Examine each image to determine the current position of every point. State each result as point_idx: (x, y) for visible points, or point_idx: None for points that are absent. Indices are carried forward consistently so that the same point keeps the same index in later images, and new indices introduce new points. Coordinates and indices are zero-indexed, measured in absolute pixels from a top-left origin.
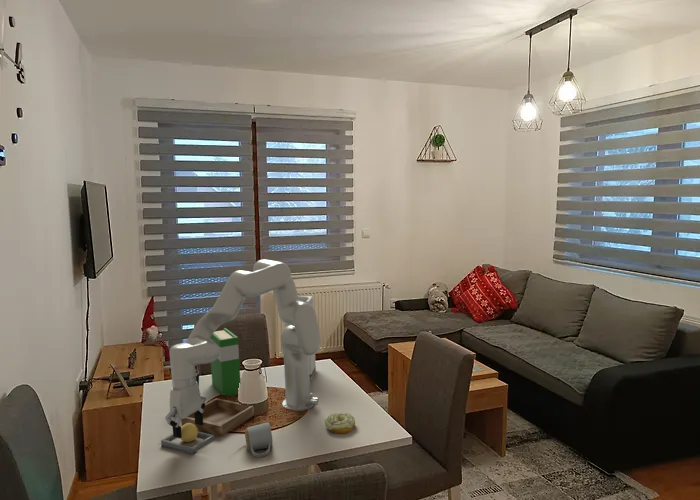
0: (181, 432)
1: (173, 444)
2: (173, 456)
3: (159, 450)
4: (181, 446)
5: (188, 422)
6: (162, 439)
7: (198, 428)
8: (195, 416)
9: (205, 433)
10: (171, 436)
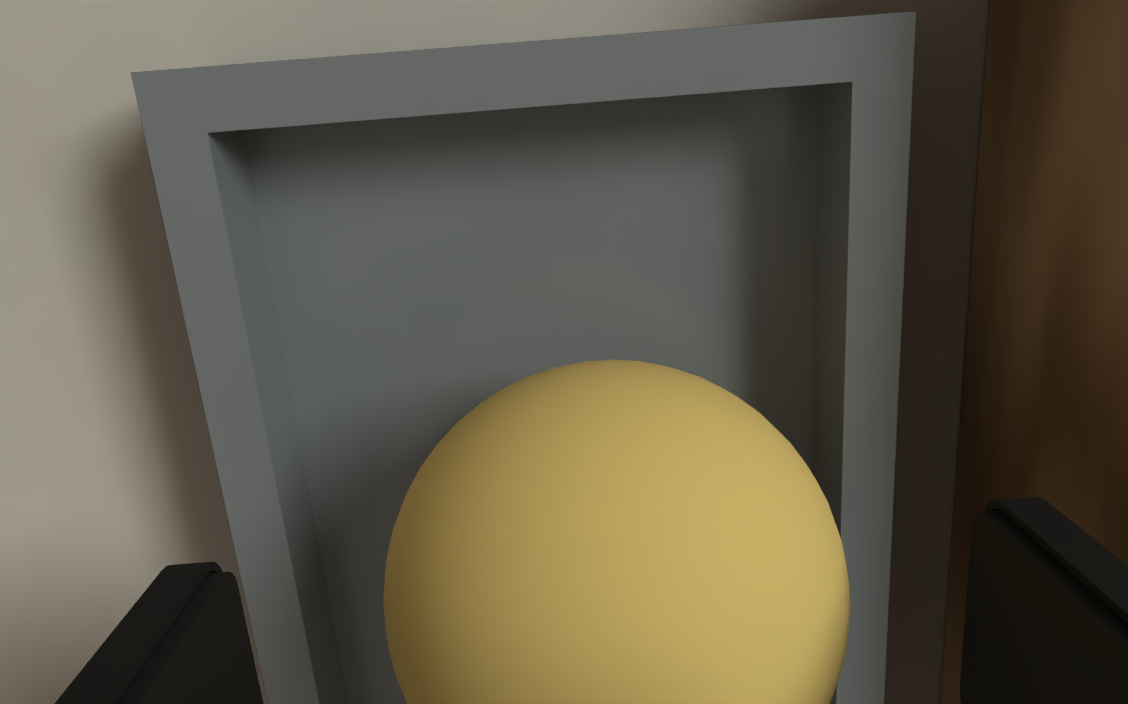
0: (393, 631)
1: (227, 469)
2: (113, 609)
3: (62, 202)
4: (266, 675)
5: (1122, 27)
6: (181, 69)
7: (1023, 363)
8: (1115, 700)
9: (871, 684)
10: (436, 114)
